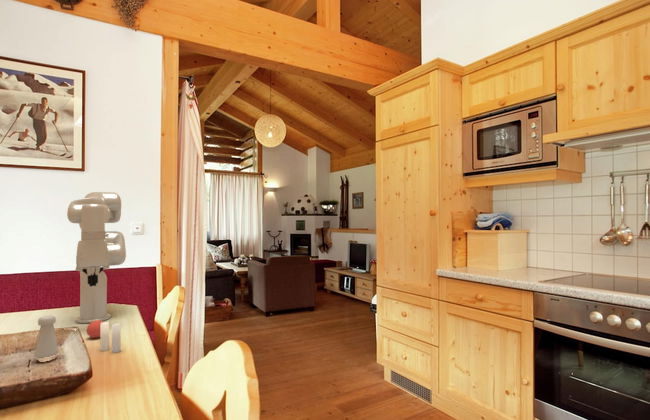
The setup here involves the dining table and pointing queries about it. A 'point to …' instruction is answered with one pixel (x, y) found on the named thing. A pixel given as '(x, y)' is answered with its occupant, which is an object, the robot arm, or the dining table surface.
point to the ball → (94, 329)
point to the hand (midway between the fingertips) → (92, 285)
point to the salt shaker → (46, 338)
